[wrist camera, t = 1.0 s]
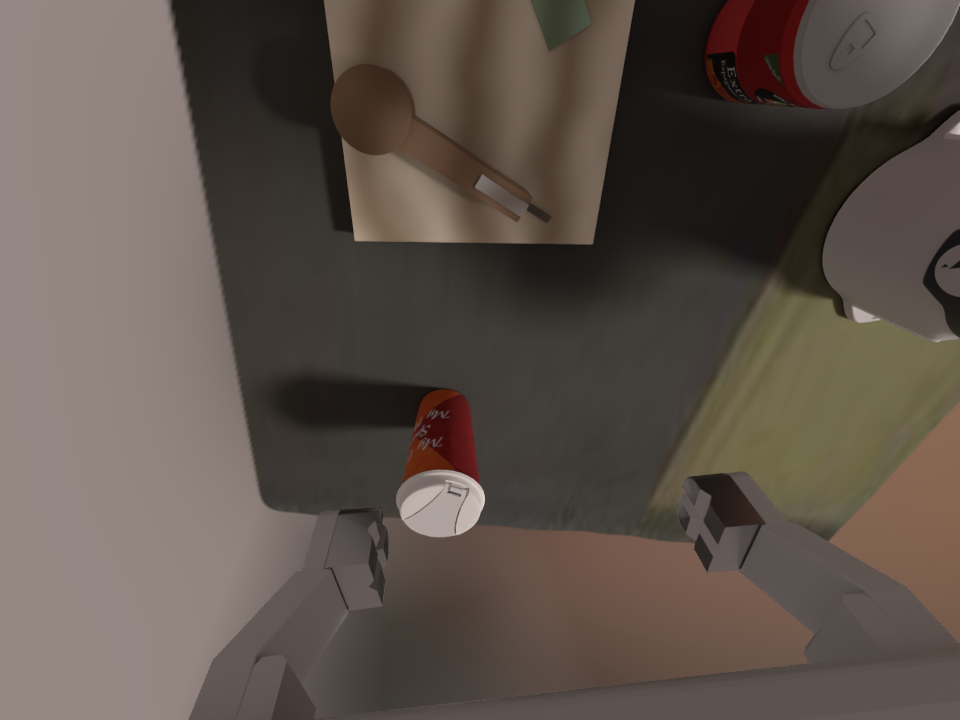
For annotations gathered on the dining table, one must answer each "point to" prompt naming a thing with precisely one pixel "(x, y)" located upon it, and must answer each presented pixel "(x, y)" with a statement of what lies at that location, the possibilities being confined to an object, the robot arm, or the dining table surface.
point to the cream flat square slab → (488, 112)
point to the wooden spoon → (414, 136)
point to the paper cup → (441, 469)
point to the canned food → (821, 49)
